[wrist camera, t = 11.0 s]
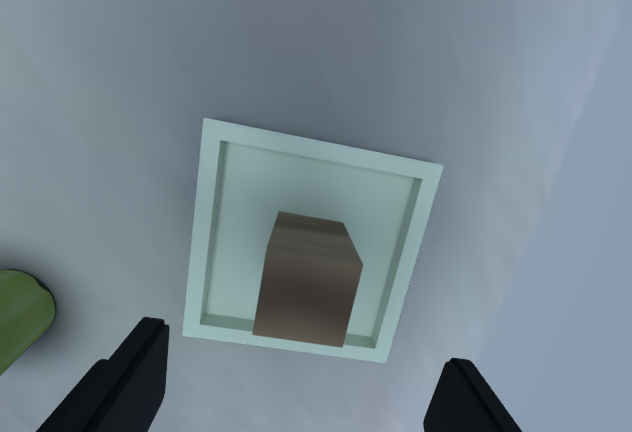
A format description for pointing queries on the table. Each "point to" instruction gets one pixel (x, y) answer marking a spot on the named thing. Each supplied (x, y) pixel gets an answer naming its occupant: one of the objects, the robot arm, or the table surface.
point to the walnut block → (307, 281)
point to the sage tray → (309, 200)
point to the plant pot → (21, 314)
